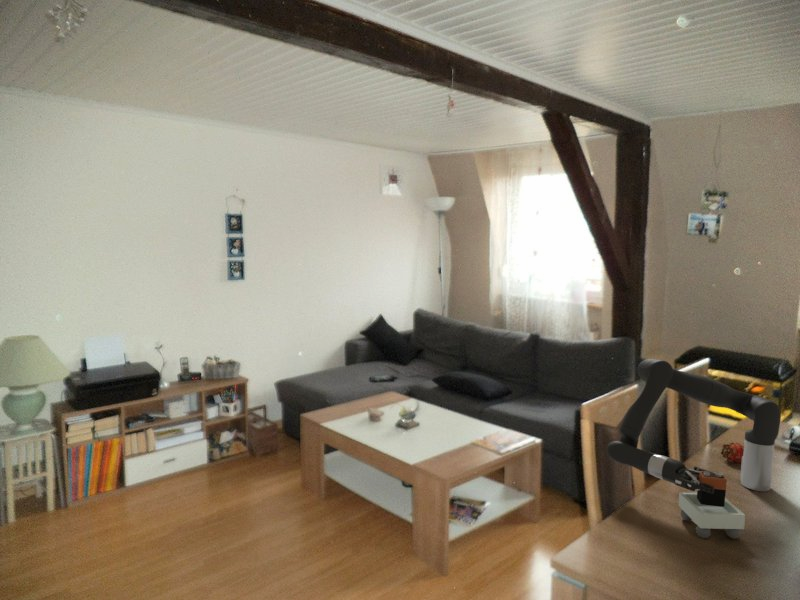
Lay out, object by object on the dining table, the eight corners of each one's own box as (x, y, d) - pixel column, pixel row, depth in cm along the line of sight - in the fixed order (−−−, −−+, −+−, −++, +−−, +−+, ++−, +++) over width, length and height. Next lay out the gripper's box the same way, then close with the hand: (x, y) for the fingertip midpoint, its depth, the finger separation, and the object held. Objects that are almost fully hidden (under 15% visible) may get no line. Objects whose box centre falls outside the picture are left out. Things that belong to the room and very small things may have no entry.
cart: (677, 516, 181) (679, 492, 180) (717, 517, 181) (719, 493, 180) (699, 540, 167) (701, 514, 166) (743, 541, 167) (745, 515, 166)
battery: (724, 507, 170) (727, 476, 169) (700, 505, 172) (703, 474, 170) (719, 500, 175) (722, 470, 173) (696, 498, 176) (699, 468, 175)
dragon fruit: (723, 467, 224) (736, 465, 231) (743, 461, 218) (756, 458, 225) (713, 447, 227) (726, 445, 234) (732, 440, 222) (746, 438, 229)
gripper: (656, 463, 179) (710, 481, 166) (677, 452, 188) (730, 469, 175) (654, 485, 180) (708, 505, 167) (675, 473, 188) (727, 492, 176)
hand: (719, 487), depth 171 cm, fingers closed on battery, 7 cm apart
